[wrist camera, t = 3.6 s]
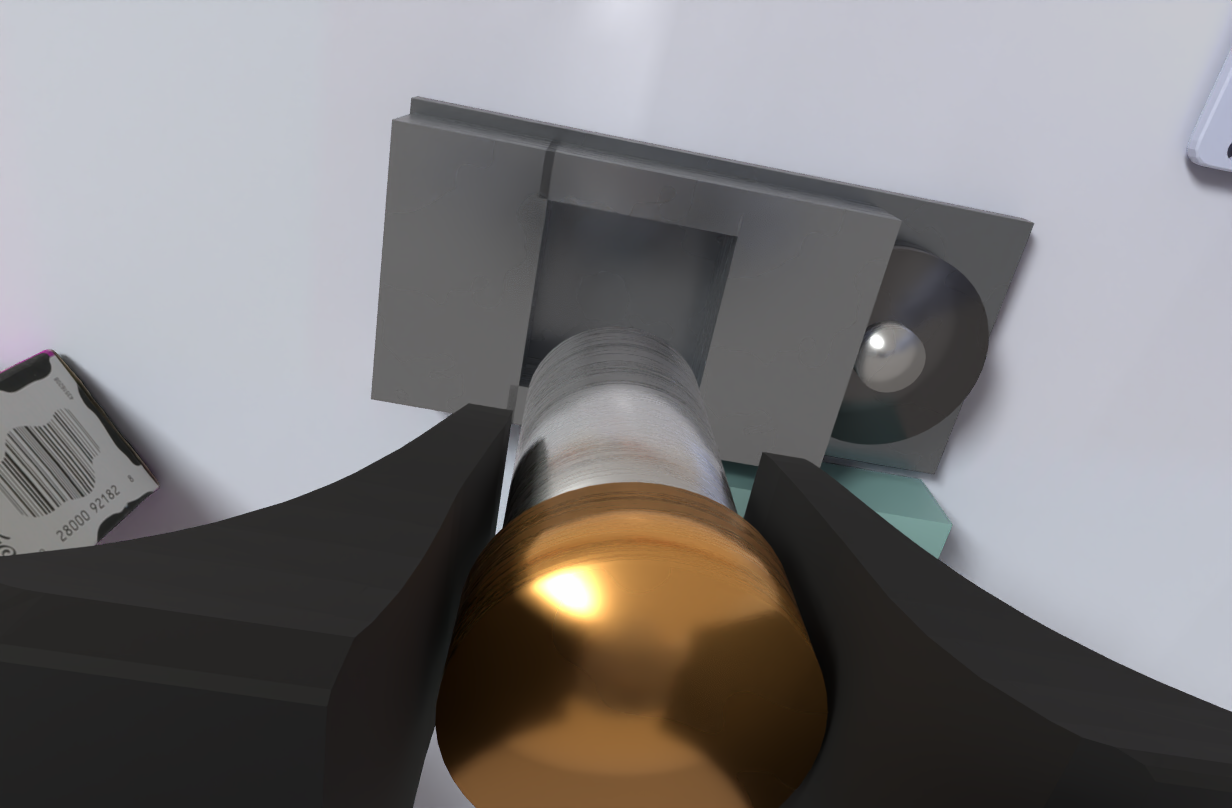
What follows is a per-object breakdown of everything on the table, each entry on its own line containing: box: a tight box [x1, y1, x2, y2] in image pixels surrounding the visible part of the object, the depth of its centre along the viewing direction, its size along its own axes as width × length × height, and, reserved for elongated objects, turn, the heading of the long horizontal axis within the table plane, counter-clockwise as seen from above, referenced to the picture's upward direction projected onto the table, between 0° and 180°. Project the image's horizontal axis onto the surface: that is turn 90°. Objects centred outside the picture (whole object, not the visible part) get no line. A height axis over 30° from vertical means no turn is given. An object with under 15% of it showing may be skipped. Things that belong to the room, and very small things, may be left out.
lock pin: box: [435, 326, 828, 808], centre depth 11 cm, size 4×4×7 cm
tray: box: [721, 460, 952, 559], centre depth 23 cm, size 9×9×2 cm
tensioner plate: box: [371, 96, 1034, 474], centre depth 20 cm, size 15×7×3 cm, turn 79°
